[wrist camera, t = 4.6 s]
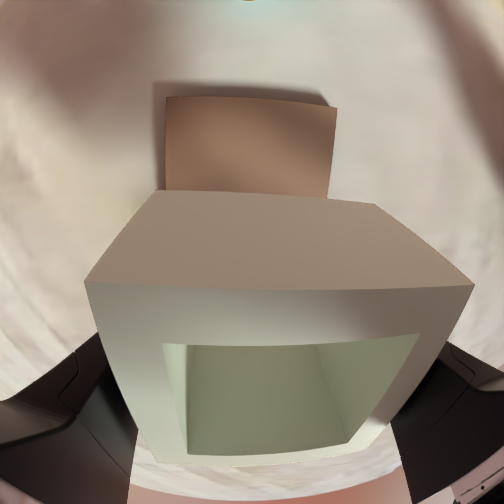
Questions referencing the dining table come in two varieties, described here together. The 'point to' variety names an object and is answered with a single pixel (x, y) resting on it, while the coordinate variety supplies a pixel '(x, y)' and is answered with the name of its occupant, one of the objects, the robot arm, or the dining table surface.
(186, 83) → the dining table surface
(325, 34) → the dining table surface
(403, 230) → the square hollow sleeve
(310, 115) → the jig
